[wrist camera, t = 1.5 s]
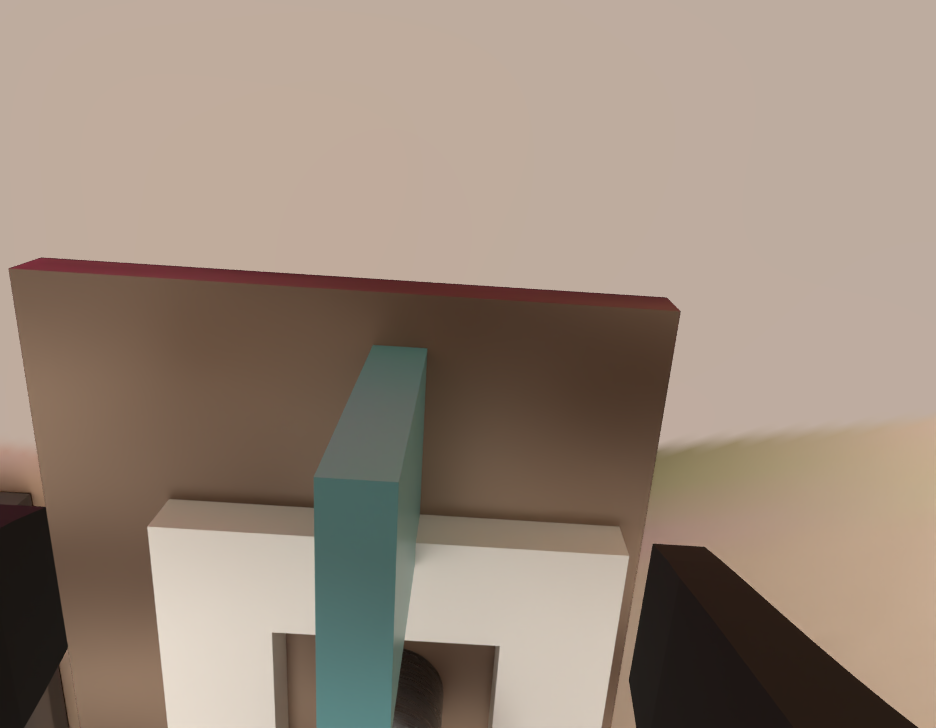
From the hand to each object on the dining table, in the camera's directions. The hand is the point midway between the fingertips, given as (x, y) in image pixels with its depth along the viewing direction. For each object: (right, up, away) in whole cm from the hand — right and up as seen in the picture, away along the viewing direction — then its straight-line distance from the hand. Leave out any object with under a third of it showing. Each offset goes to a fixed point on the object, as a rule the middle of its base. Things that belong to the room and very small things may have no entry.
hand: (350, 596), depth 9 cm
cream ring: (0, -3, +7) cm, 7 cm away
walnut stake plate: (-1, -2, +7) cm, 8 cm away
